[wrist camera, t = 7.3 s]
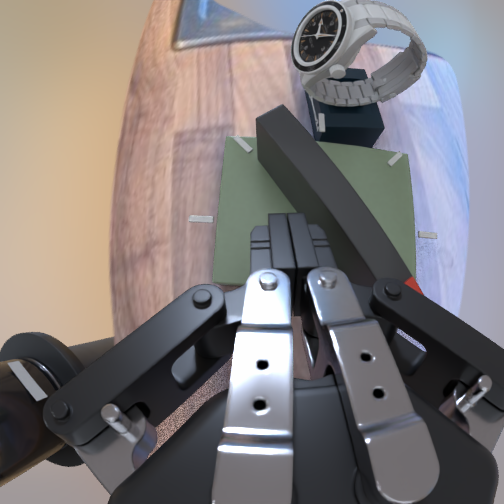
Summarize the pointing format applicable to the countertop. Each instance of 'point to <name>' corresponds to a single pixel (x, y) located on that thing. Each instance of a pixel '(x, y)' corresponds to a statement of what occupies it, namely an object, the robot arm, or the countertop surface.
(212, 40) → the countertop surface
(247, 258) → the dial panel
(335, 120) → the watch
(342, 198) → the pointer
